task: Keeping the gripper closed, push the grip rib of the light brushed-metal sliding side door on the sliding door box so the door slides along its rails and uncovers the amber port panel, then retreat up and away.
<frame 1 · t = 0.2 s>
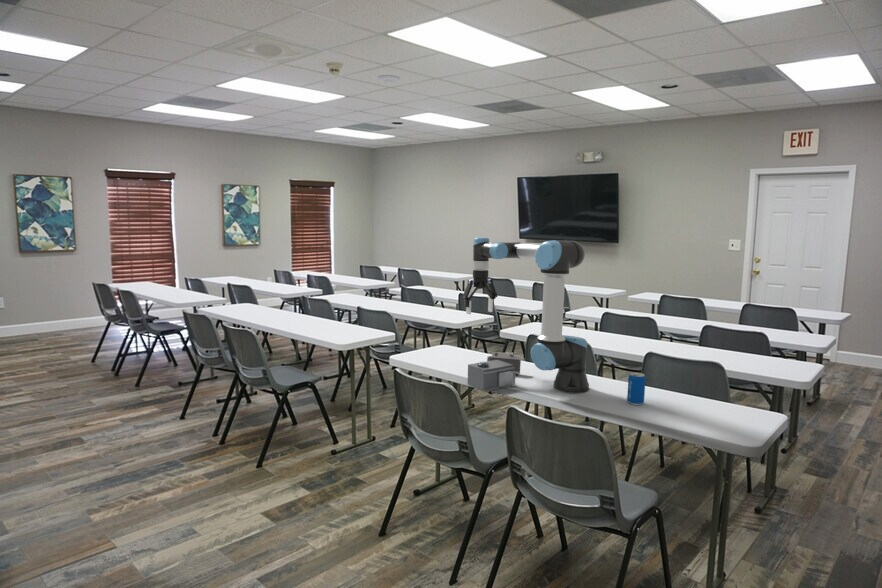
hand: (479, 312, 276), 28 cm above the table, fingers open, 13 cm apart
side door: (506, 379, 246), point 4 cm above the table, slide at 0.0 cm
beverage can: (635, 403, 229), on the table
sliding door box: (490, 384, 251), on the table
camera: (503, 373, 272), on the table
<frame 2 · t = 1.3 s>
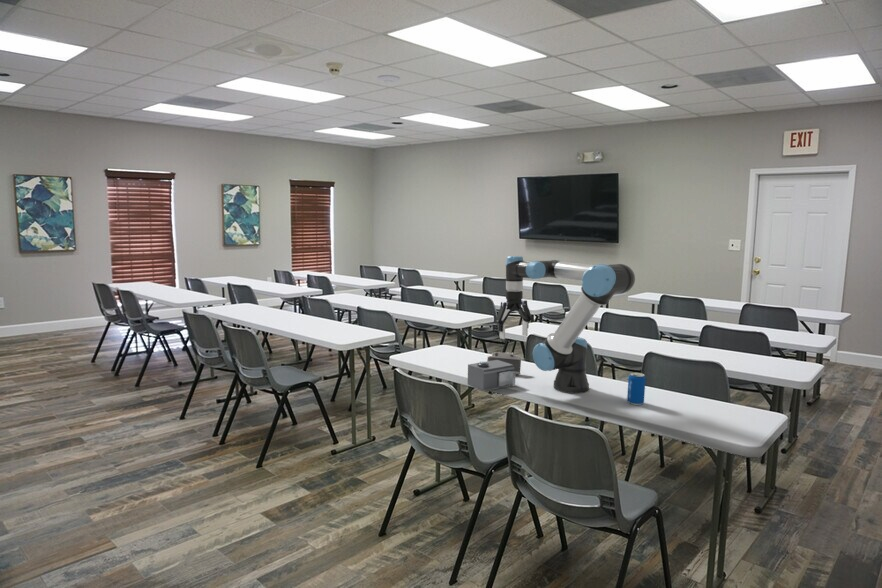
hand: (513, 337, 255), 20 cm above the table, fingers open, 13 cm apart
nothing on the table moved.
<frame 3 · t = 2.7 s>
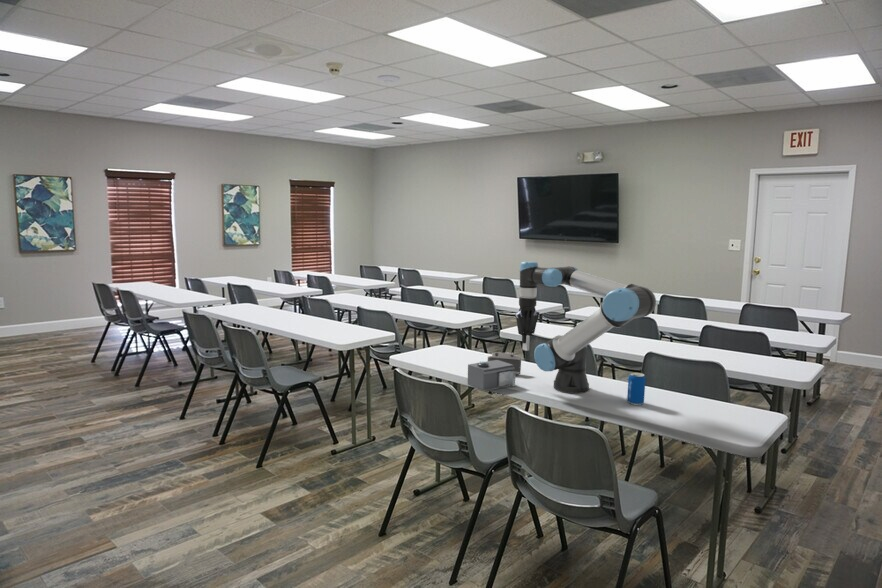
hand: (525, 350, 249), 16 cm above the table, fingers closed
nothing on the table moved.
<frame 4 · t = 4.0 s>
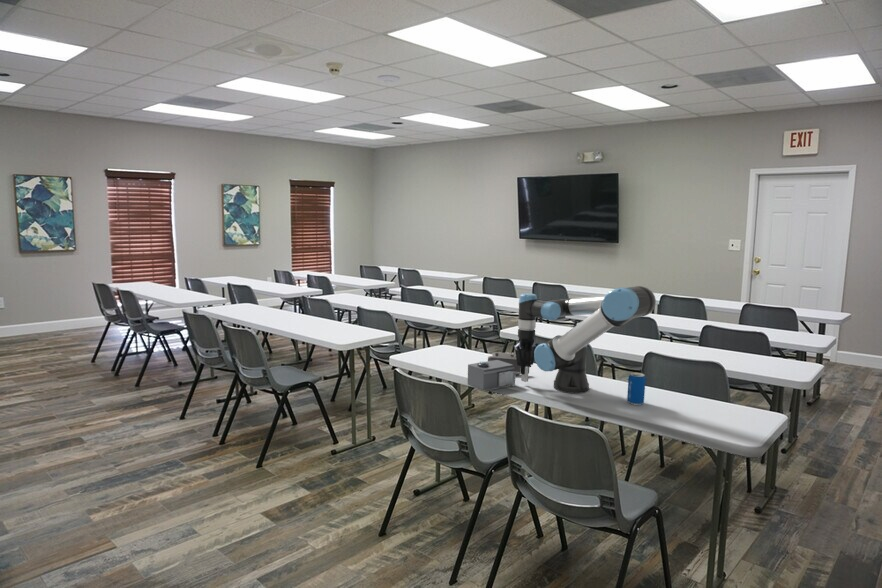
hand: (524, 381, 250), 2 cm above the table, fingers closed
nothing on the table moved.
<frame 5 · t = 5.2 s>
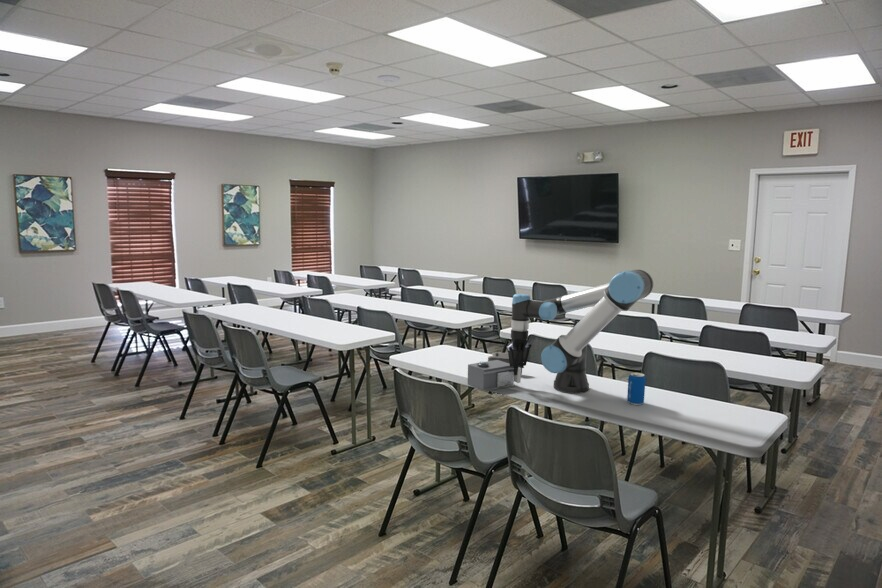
hand: (517, 381, 248), 2 cm above the table, fingers closed
side door: (505, 379, 246), point 4 cm above the table, slide at 0.9 cm, touching gripper
everything else where it was.
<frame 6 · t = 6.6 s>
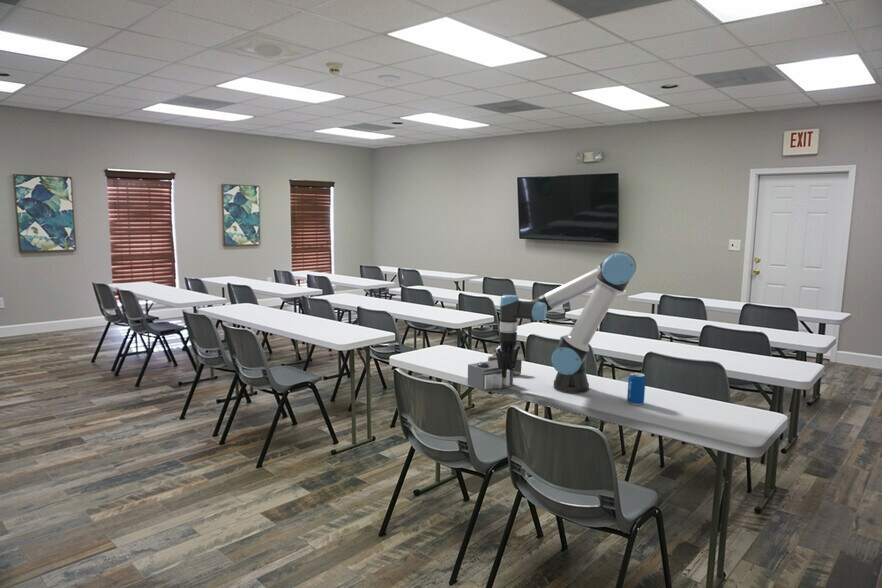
hand: (506, 384, 244), 2 cm above the table, fingers closed
side door: (493, 381, 242), point 4 cm above the table, slide at 7.7 cm, touching gripper
everything else where it was.
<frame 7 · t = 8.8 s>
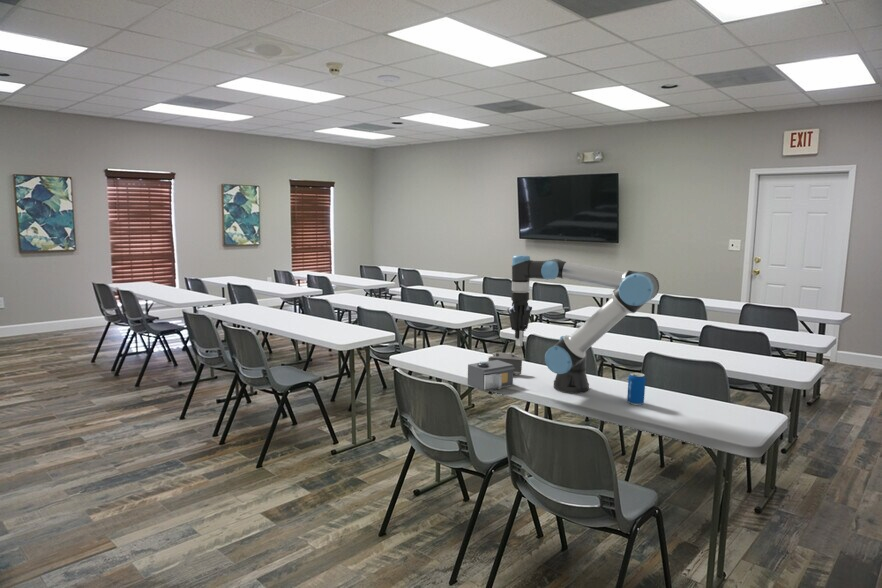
hand: (519, 345, 244), 19 cm above the table, fingers closed
side door: (492, 381, 242), point 4 cm above the table, slide at 7.9 cm
everything else where it was.
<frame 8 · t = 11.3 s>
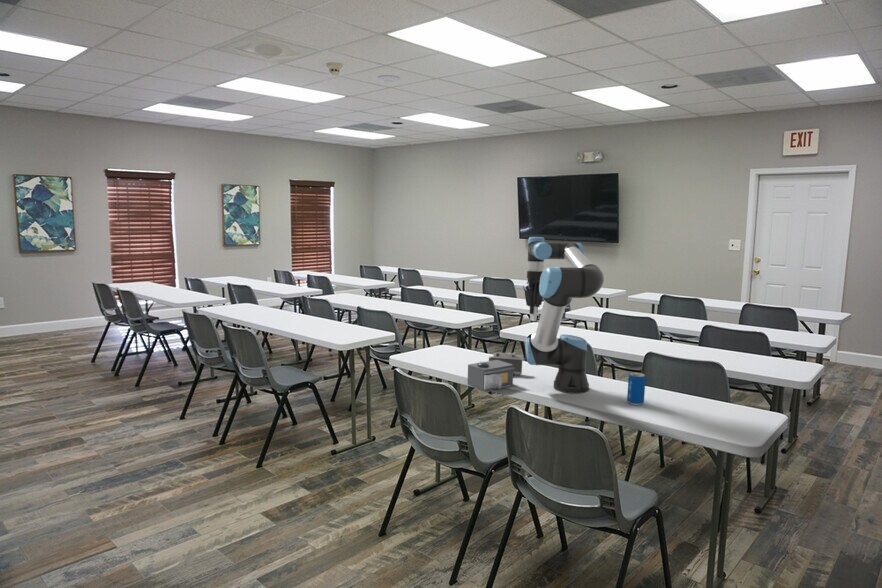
hand: (533, 320, 264), 26 cm above the table, fingers closed
nothing on the table moved.
at the end: side door slide at 7.9 cm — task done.
